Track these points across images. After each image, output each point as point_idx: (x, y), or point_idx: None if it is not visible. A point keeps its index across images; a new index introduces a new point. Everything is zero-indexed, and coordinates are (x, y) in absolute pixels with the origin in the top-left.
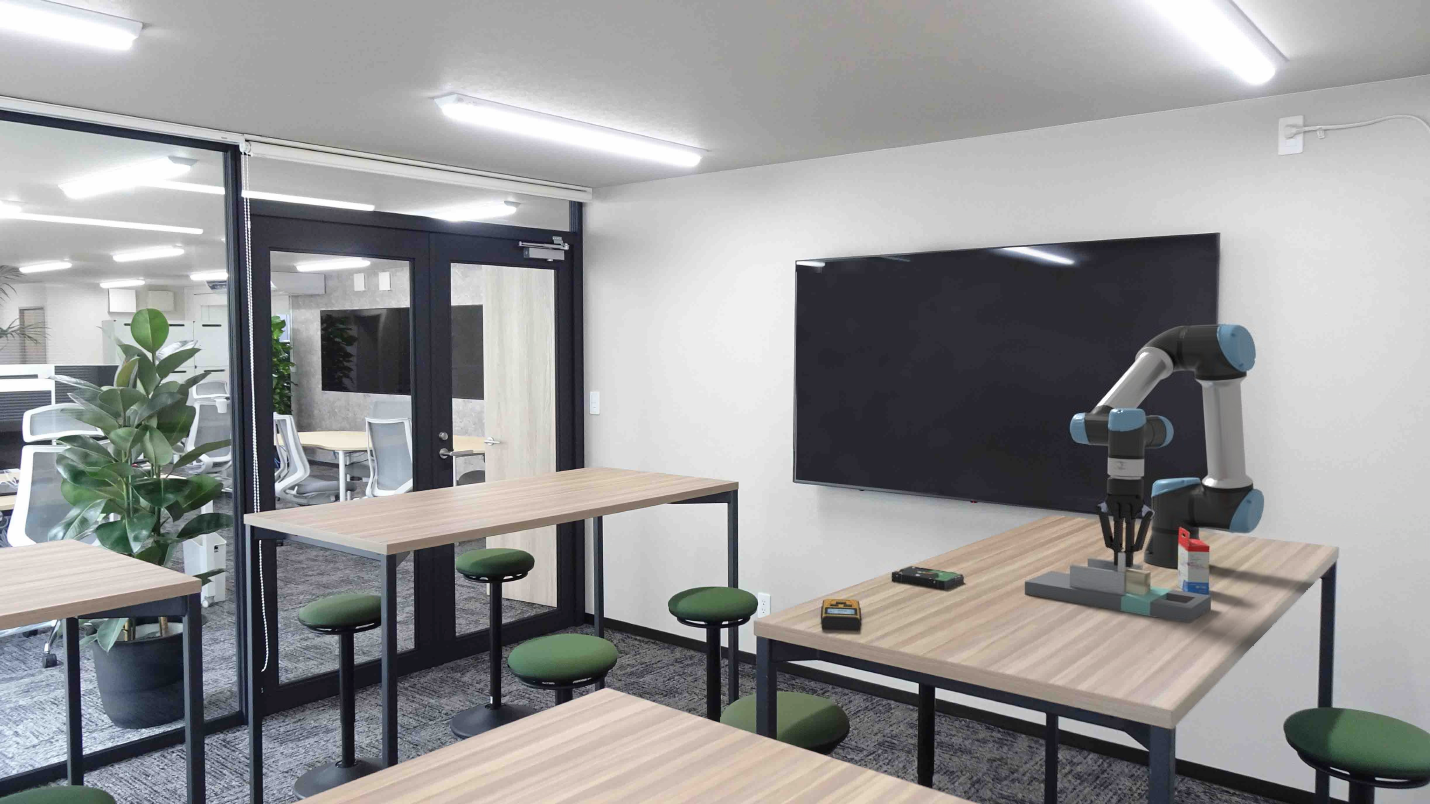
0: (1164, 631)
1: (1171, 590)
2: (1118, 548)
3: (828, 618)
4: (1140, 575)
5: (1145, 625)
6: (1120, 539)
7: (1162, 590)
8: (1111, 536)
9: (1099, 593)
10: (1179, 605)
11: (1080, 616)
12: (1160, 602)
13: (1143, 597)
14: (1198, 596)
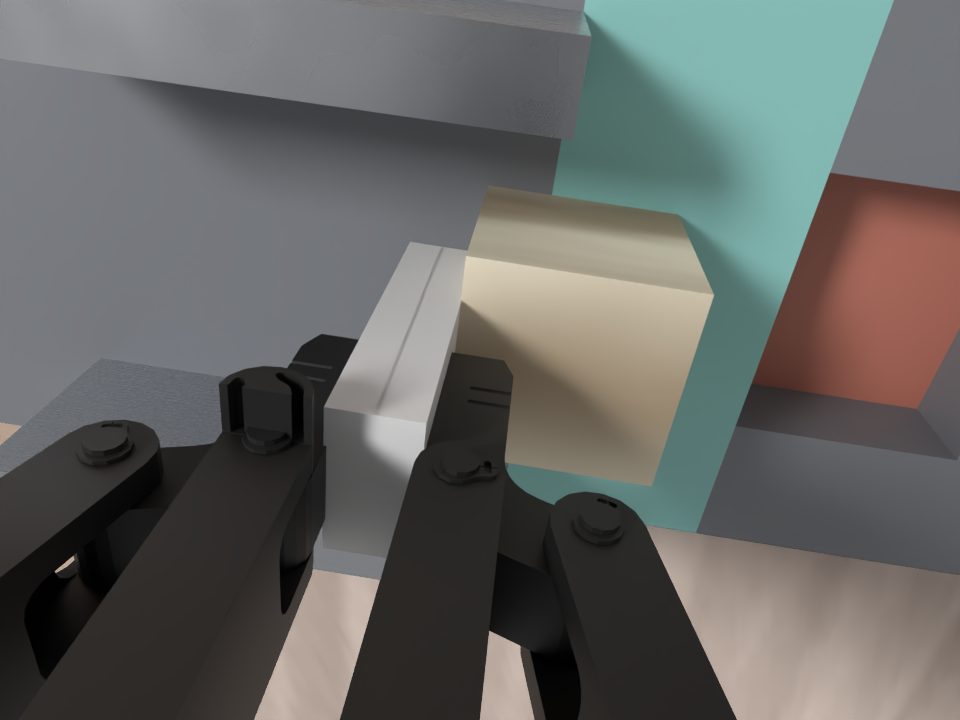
0: (763, 684)
1: (890, 27)
2: (302, 585)
3: None
4: (619, 476)
5: None
6: (253, 656)
7: (792, 89)
8: (25, 589)
9: None
10: (895, 535)
11: (360, 622)
12: (765, 516)
13: None
14: None
